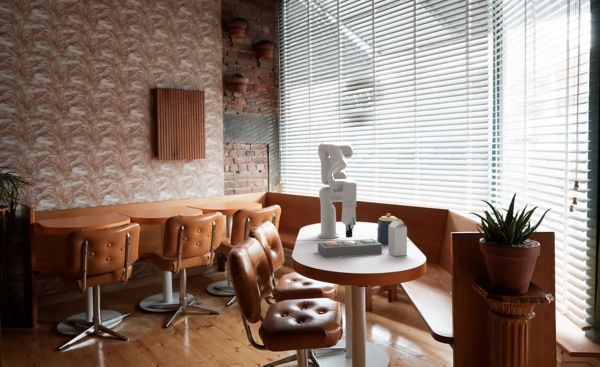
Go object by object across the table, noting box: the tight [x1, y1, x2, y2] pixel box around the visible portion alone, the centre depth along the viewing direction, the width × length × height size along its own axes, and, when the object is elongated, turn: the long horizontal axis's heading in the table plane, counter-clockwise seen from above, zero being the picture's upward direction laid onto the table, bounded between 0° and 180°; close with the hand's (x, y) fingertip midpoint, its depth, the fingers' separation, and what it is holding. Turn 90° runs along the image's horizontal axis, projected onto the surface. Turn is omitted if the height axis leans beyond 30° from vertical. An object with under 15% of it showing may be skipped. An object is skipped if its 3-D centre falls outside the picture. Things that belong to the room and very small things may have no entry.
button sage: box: [361, 238, 374, 244], centre depth 230 cm, size 6×6×3 cm
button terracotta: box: [325, 241, 337, 247], centre depth 226 cm, size 6×6×3 cm
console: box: [317, 238, 383, 259], centre depth 228 cm, size 13×32×5 cm, turn 103°
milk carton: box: [387, 217, 408, 257], centre depth 223 cm, size 7×7×19 cm
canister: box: [376, 212, 397, 246], centre depth 249 cm, size 13×13×18 cm
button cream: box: [343, 240, 355, 245], centre depth 228 cm, size 6×6×3 cm
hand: (349, 237), depth 228 cm, fingers closed
